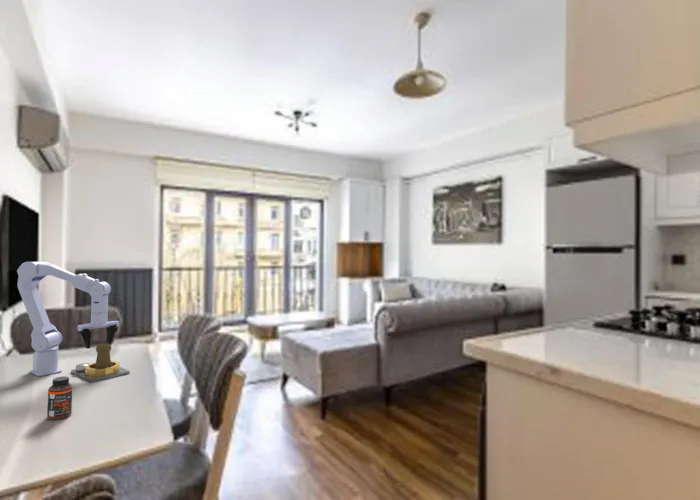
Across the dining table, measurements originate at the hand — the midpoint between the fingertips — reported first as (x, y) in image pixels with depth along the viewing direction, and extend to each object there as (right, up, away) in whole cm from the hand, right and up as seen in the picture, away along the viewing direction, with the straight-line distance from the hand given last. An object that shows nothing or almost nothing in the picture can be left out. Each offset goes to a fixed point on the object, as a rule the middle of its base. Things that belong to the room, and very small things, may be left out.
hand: (98, 346), depth 161 cm
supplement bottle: (+14, -11, -41) cm, 45 cm away
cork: (+3, -10, -2) cm, 10 cm away
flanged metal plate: (+1, -10, -1) cm, 11 cm away
